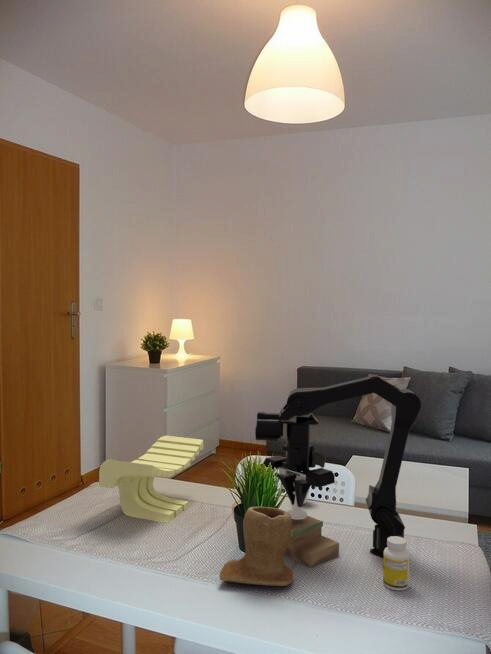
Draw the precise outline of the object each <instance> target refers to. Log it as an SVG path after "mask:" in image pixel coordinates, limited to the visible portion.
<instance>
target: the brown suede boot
mask: <svg viewBox="0 0 491 654" xmlns="http://www.w3.org/2000/svg"><path fill="white" fill-rule="evenodd" d="M291 528H292V519H291V516H290V515H289V513H287V511H286V510H283V509H280V508H277V507H271V506H251V507H248V509H246V511H245V513H244V518H243V520H242V530H243V538H244V539H243V541H244V546H245V554H244V556H243V557H242V558H238V559H237V558H235V559H231V560H227V562H225V563H224V564H223V566H222V567H221V570H220V573H219V580H220V581H224V582H231V583H238V584H247V585H257V586H258V585H259V586H268V587H271V586H272V587H286V586H289V585H291V583H292V582H293V581H294V576H295V575H294V571H293V570H292V569H291V567H290V566H288V565H286V564H285V552H286V549H287V547H288V544H289V541H290V537H291Z"/></svg>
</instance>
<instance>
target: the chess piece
mask: <svg viewBox="0 0 491 654" xmlns="http://www.w3.org/2000/svg"><path fill="white" fill-rule="evenodd" d="M299 479H300V477H299V475H297V478H296V480H299ZM293 484H294V483H293ZM294 487H295V486H294ZM293 494H295V502H294V505H293V507H292V509H289V510H288V511H286V512H287V513H289V515H290V516H291V519H297V520H299V519H305V518H306V517H307V516H308V515H307V514H308V513H307V512H306V511H305V510H303V509H302V507H298V504H297V499H296V493H295V491H294V492H293Z"/></svg>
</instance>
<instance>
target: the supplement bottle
mask: <svg viewBox="0 0 491 654" xmlns="http://www.w3.org/2000/svg"><path fill="white" fill-rule="evenodd" d="M387 546H388V547H386V548H385V549H384V555H383V557H382V558H383V559H382V560H383V562H382V563H383V567H382V569H383V570H382V571H383V572H382V582H383V585H384V586H385V587H386V589H387V588H388V589H389V590H393V591H399V592H400V591H405V590H408V588H409V587H410V571H411V570H410V564H411V563H410V562H411V557H410V556H411V555H410V552H409V550H408V549H407V539H406V538H405V537H404V538H402V537H398V536H391V537H388V538H387Z"/></svg>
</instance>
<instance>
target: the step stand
mask: <svg viewBox="0 0 491 654" xmlns="http://www.w3.org/2000/svg"><path fill="white" fill-rule="evenodd" d="M323 527H324V521H322V520H319V519H317V518H315V517H312V516H309V515H307V517H306V518H305V519H299V520H297V519H292V528H291V537H290V541H289V544H288V547H287V549H286V552H285V555H284V557H287V558H290V559H291V560H294V561H296V562H298V563H301V564H302V565H304V566H307V567H309V568H313V567H315V566H317V565H320V564H322V563H324V562H326V561H329V560H330V559H333V558H335V557H337V556H340V542H338V541H336V540H334V539H332V538H330V537H326V536H325V535H322V531H323V529H322V528H323Z"/></svg>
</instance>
